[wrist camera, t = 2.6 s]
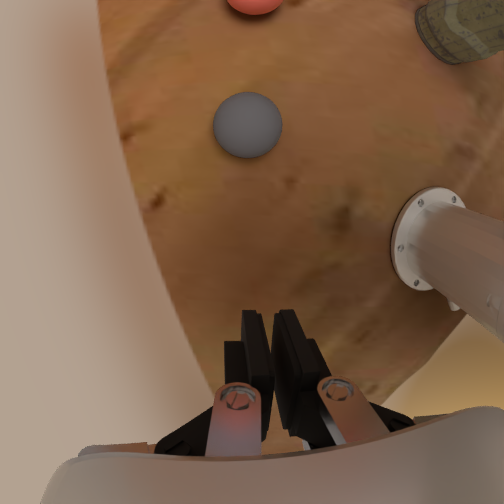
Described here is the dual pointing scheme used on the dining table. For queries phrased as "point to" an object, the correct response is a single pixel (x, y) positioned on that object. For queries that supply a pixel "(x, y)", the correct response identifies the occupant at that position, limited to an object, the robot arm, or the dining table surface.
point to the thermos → (462, 29)
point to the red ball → (255, 6)
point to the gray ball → (247, 125)
